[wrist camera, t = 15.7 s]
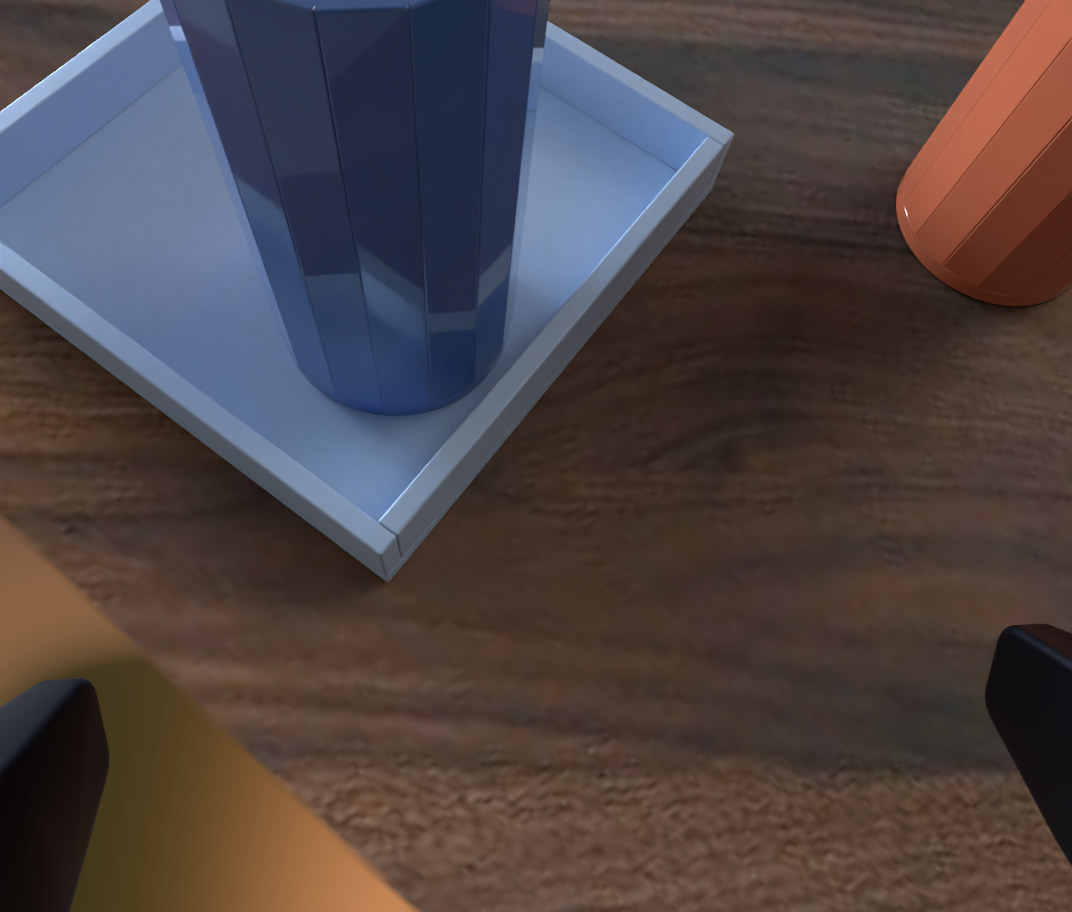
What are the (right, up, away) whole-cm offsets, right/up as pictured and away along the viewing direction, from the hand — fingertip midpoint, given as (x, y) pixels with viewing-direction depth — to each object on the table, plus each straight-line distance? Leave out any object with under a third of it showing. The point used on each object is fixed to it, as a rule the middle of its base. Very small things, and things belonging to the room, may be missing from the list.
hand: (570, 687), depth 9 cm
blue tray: (-6, +10, +18) cm, 21 cm away
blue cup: (-4, +6, +16) cm, 18 cm away
